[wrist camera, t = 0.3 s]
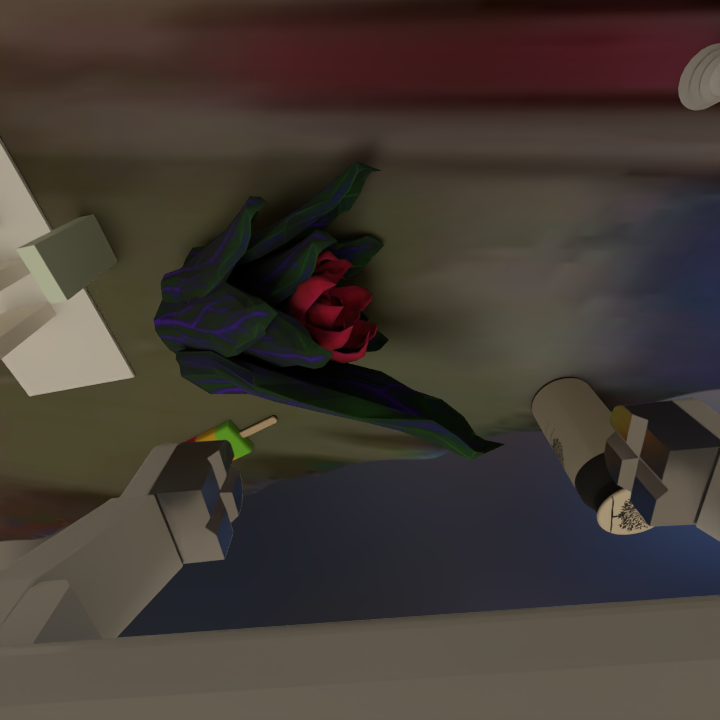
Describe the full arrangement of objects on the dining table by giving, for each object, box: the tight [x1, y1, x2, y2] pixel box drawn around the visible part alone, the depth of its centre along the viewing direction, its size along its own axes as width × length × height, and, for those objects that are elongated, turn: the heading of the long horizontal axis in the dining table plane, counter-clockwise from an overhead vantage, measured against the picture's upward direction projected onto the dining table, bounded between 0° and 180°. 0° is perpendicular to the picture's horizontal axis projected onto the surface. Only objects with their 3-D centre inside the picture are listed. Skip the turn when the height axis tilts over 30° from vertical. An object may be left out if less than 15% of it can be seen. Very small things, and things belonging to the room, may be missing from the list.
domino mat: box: [0, 138, 135, 396], centre depth 47 cm, size 29×14×1 cm, turn 11°
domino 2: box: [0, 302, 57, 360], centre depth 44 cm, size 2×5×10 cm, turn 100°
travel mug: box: [532, 378, 654, 534], centre depth 51 cm, size 8×8×18 cm
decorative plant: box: [154, 162, 504, 460], centre depth 41 cm, size 21×26×30 cm
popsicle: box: [186, 416, 277, 460], centre depth 60 cm, size 6×15×2 cm, turn 119°
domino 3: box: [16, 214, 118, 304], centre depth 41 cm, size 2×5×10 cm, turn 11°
